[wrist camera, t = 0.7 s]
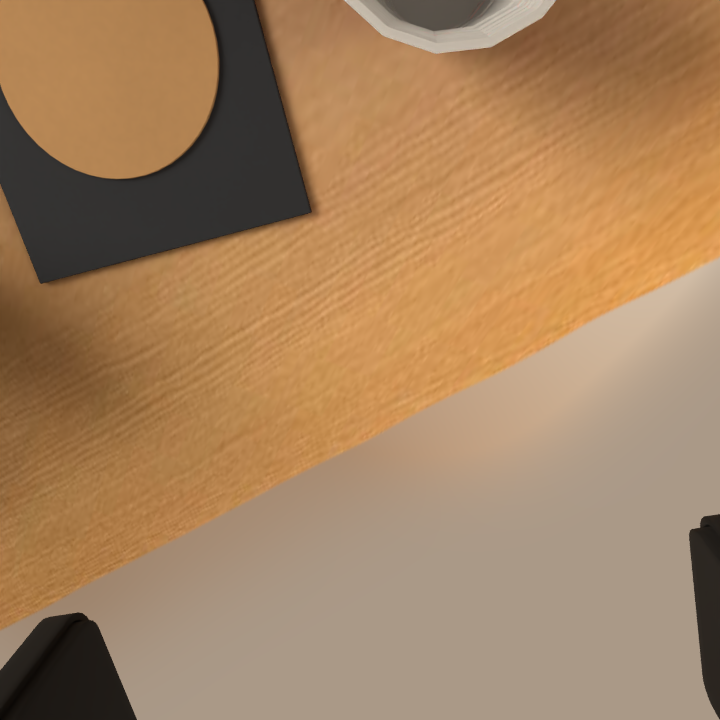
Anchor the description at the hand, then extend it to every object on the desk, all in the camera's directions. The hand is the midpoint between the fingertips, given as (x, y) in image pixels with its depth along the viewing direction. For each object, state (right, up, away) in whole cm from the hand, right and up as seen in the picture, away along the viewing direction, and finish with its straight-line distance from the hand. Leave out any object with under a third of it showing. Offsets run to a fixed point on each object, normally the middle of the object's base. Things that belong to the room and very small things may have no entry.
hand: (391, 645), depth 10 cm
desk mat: (-15, +22, +26) cm, 37 cm away
